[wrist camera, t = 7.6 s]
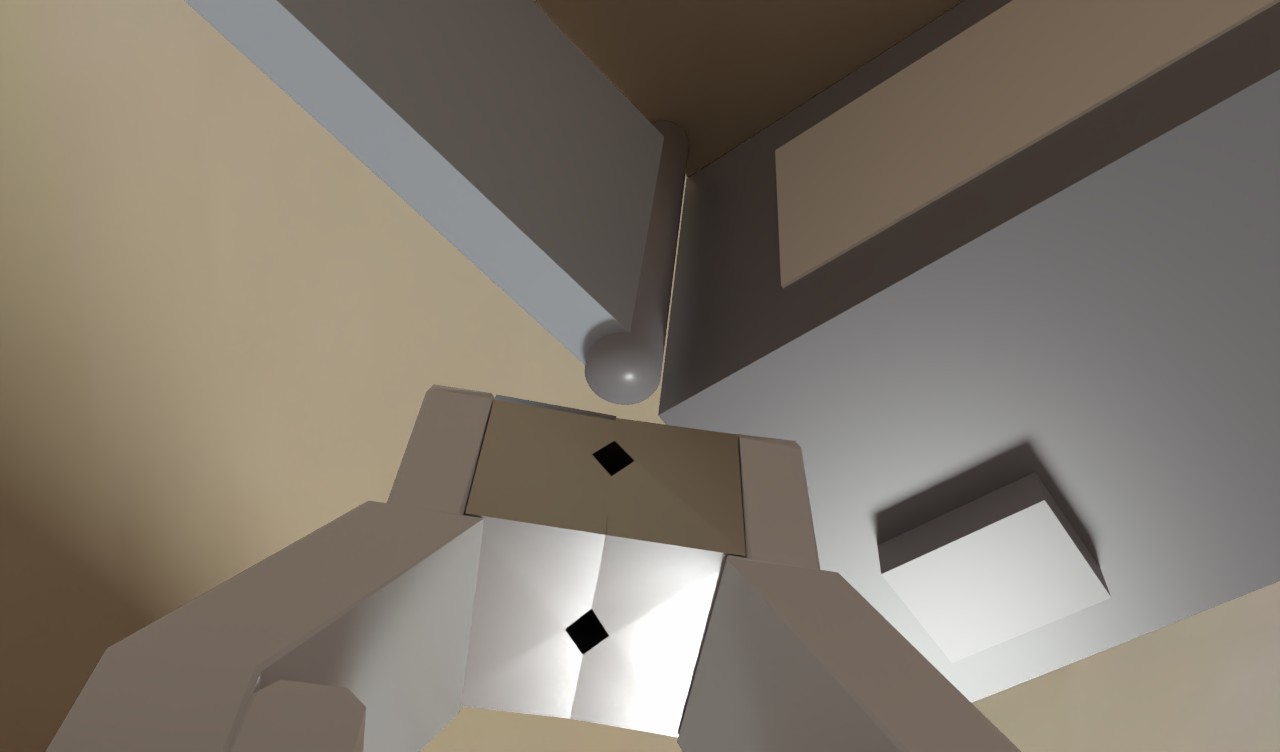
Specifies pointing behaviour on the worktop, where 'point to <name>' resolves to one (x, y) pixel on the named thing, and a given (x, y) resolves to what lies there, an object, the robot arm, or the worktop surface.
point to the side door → (497, 155)
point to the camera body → (1012, 322)
